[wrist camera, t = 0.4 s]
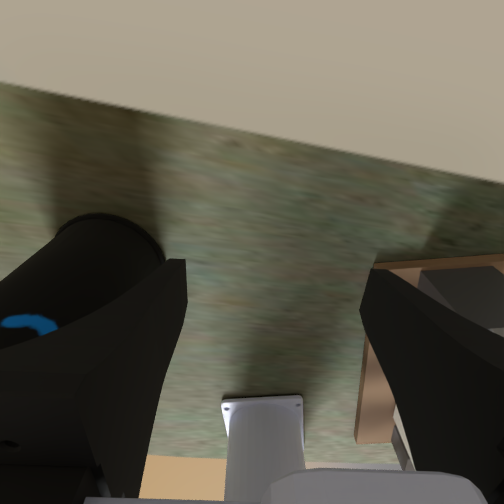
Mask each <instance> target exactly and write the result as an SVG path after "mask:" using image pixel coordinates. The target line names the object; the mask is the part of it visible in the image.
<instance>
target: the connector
mask: <svg viewBox="0 0 504 504" xmlns="http://www.w3.org/2000/svg"><path fill="white" fill-rule="evenodd" d="M417 289H419V290H420V291H422V292H423V293H425V294H427V295H428V296H430V297H431V298H433V299H434V300H436V301H437V302H439V303H441V304H442V305H444V306H446V307H447V308H449V309H451V310H452V311H454V312H456V313H457V314H459V315H461V316H463V317H465V318H466V319H468V320H470V321H472V322H474V323H476V324H478V325H480V326H482V327H484V328H486V329H488V330H490V331H492V332H494V333H496V334H498V335H500V336H502V337H504V274H503V273H501V272H500V271H499V270H497V269H496V268H495V267H494V266H481V267H467V268H454V269H440V270H426V271H420V276H419V281H418V286H417Z"/></svg>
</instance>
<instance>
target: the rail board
mask: <svg viewBox="0 0 504 504" xmlns="http://www.w3.org/2000/svg"><path fill="white" fill-rule="evenodd" d="M481 266H494V267H495V268H496V269H497V270H499V271H500V272H501V273H503V274H504V254H491V255H478V256H465V257H451V258H438V259H425V260H412V261H398V262H385V263H374V267H373V269H387V270H389V271H391V272H393V273H394V274H396V275H398V276H399V277H401V278H402V279H404V280H405V281H407V282H408V283H410V284H411V285H413V286H414V287H416V288H417V286H418V281H419V276H420V271H426V270H440V269H454V268H467V267H481ZM395 406H396V403H395V400H394V397H393V394H392V391H391V389H390V386H389V384H388V382H387V379H386V377H385V375H384V373H383V370H382V368H381V366H380V364H379V362H378V359H377V357H376V355H375V353H374V351H373V348H372V346H371V344H370V342H369V339H368V337H367V335H365V344H364V353H363V361H362V370H361V378H360V387H359V396H358V404H357V413H356V421H355V430H354V437H355V440H356V444H375V443H392V444H393V447H394V449H395V452H396V455H397V457H398V460H399V462H400V465H401V468H402V470H403V471H415V469H414V467H413V464H412V462H411V459H410V457H409V455H408V452H407V450H406V447H405V445H404V442H403V440H402V438H401V435H400V433H399V430H398V428H397V426H396V423H395V421H394V418H393V416H394V411H395Z"/></svg>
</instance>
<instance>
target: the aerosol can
mask: <svg viewBox="0 0 504 504" xmlns="http://www.w3.org/2000/svg"><path fill="white" fill-rule="evenodd" d="M164 262H165V260H164V257H163V254H162V252H161V250H160V248H159V247H158V245H157V244H156V242H155V241H154V239H153V238H152V237H151V236H150V235H149V234H148V233H147V232H146V231H144V230H143V229H142V228H140V227H139V226H137V225H136V224H134V223H132V222H130V221H128V220H126V219H124V218H121V217H117V216H114V215H109V214H102V213H100V214H87V215H83V216H78V217H76V218H74V219H72V220H70V221H68V222H67V223H66V224H65V225H63V226H62V227H61V228H60V230H59V231H58V232H57V234H56V235H55V238H54V239H52V240H51V241H50V242H49V243H48V244H46V245H45V246H44V247H43V248H41V249H40V250H39V251H38V252H36V253H35V254H34V255H33V256H31V257H30V258H29V259H28V260H26V261H25V262H24V263H23V264H21V265H20V266H19V267H18V268H16V269H15V270H14V271H13V272H12V273H10V274H9V275H8V276H7V277H5V278H4V279H3V280H2V281H0V350H1V349H4V348H7V347H10V346H13V345H16V344H20V343H22V342H25V341H28V340H31V339H34V338H36V337H39V336H42V335H44V334H47V333H49V332H52V331H54V330H57V329H59V328H61V327H64V326H66V325H68V324H70V323H72V322H74V321H76V320H78V319H80V318H83V317H85V316H87V315H89V314H91V313H93V312H95V311H96V310H98V309H100V308H102V307H103V306H105V305H107V304H109V303H110V302H112V301H114V300H115V299H117V298H118V297H120V296H121V295H123V294H124V293H125V292H127V291H128V290H130V289H131V288H133V287H134V286H135V285H137V284H138V283H140V282H141V281H142V280H143V279H145V278H146V277H147V276H148V275H150V274H151V273H152V272H153V271H155V270H156V269H157V268H158V267H160V266H161V265H162V264H163V263H164Z"/></svg>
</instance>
